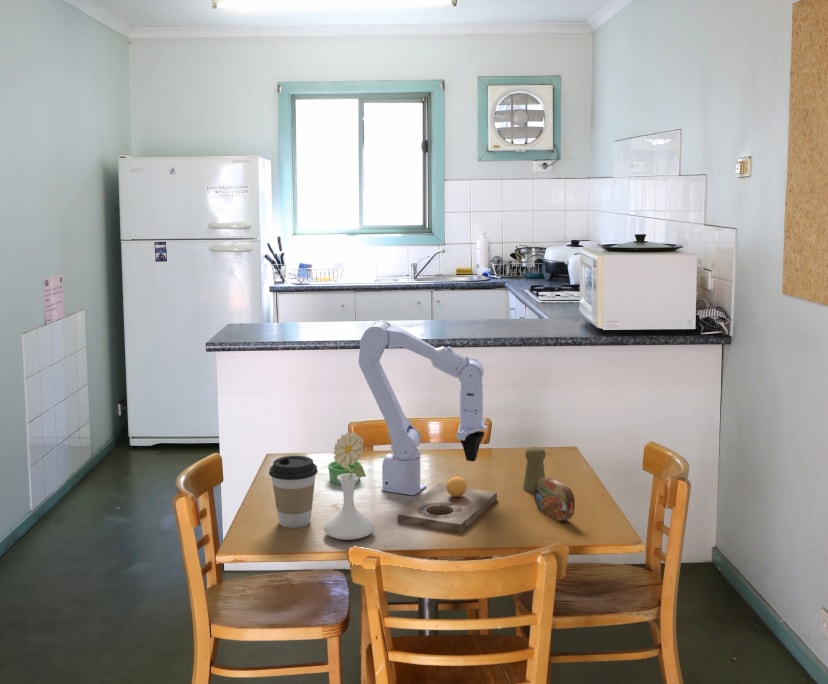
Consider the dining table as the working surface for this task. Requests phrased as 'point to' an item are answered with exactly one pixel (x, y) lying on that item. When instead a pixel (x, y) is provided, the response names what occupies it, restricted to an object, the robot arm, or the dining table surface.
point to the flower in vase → (349, 492)
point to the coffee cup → (293, 489)
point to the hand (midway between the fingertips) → (471, 460)
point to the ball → (456, 486)
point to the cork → (533, 467)
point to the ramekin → (340, 471)
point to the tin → (554, 498)
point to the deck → (447, 508)
